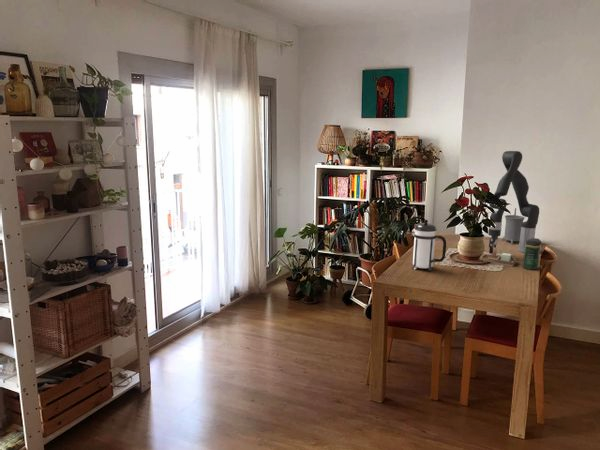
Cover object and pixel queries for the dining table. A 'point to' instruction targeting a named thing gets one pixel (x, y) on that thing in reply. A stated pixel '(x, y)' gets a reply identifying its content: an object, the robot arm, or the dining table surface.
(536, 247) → the coffee jar
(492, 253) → the peach oval shape
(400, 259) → the dining table surface
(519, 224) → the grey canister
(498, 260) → the walnut tray
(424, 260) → the coffee press
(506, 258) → the sage block
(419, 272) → the dining table surface
